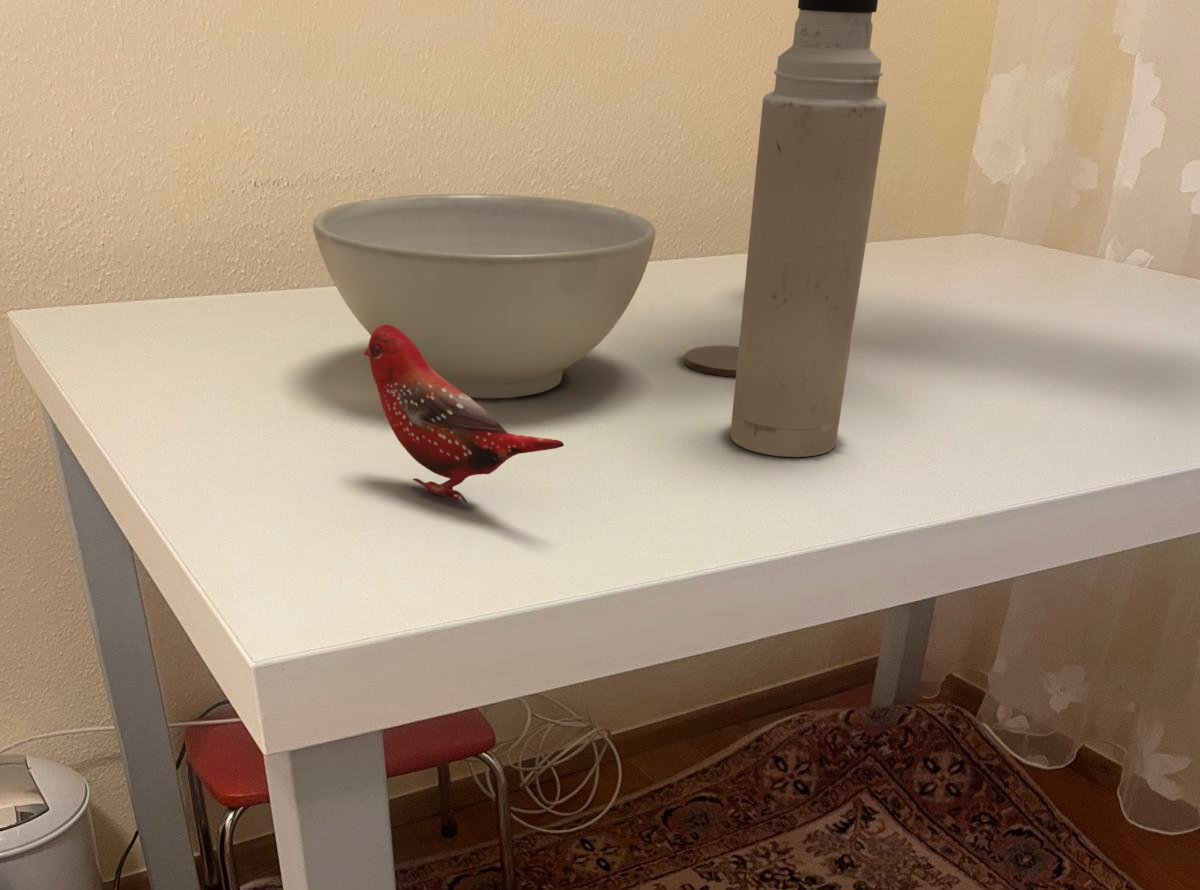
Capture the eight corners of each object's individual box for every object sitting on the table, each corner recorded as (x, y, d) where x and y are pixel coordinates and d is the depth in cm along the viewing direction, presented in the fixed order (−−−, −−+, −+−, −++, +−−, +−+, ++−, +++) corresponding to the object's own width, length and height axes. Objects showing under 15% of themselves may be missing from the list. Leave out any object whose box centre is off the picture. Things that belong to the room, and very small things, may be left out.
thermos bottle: (708, 434, 91) (747, -11, 74) (780, 416, 95) (831, -9, 79) (785, 465, 86) (844, -6, 70) (857, 444, 90) (929, -4, 74)
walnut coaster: (788, 362, 108) (789, 355, 108) (748, 382, 102) (749, 375, 102) (710, 347, 111) (711, 340, 111) (668, 365, 106) (668, 358, 105)
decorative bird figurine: (389, 464, 83) (378, 313, 77) (578, 537, 74) (582, 371, 68) (357, 475, 81) (343, 321, 75) (546, 550, 72) (547, 381, 66)
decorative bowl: (705, 373, 104) (717, 221, 97) (518, 452, 86) (517, 272, 79) (467, 321, 116) (463, 183, 109) (258, 381, 98) (237, 220, 91)
